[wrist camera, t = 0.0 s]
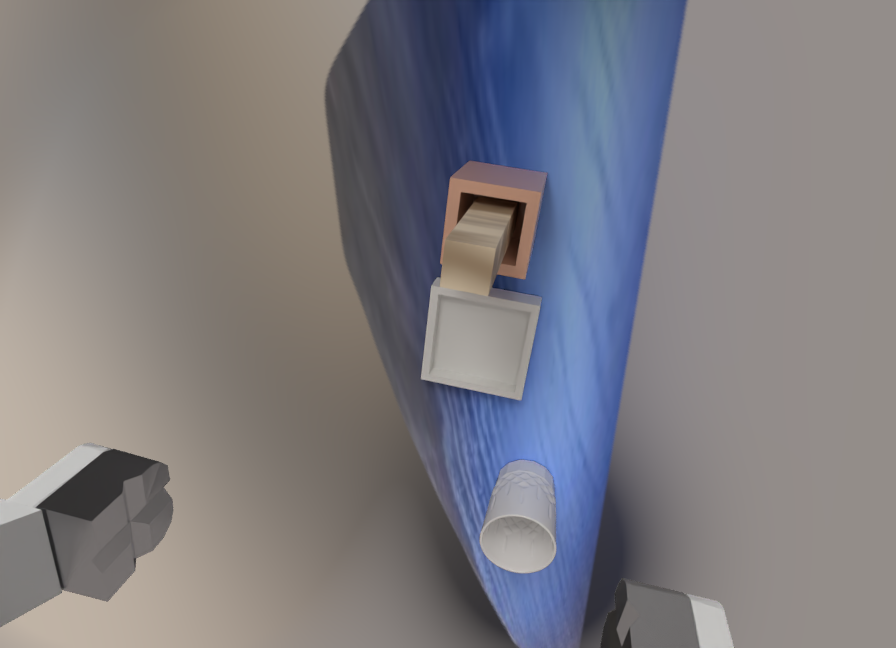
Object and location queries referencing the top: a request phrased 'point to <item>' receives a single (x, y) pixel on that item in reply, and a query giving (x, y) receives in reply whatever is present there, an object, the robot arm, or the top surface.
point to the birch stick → (478, 245)
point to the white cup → (521, 519)
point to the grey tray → (480, 339)
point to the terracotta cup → (505, 186)
